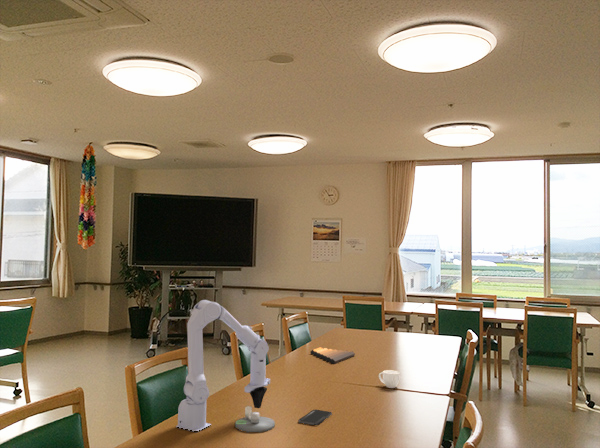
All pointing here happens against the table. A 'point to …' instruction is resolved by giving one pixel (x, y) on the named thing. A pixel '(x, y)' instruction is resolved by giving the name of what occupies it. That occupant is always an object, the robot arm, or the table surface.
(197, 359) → the robot arm
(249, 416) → the tuning lever
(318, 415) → the phone
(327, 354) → the pan flute
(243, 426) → the dial plate
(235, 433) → the table surface
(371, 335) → the table surface
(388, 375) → the cup
